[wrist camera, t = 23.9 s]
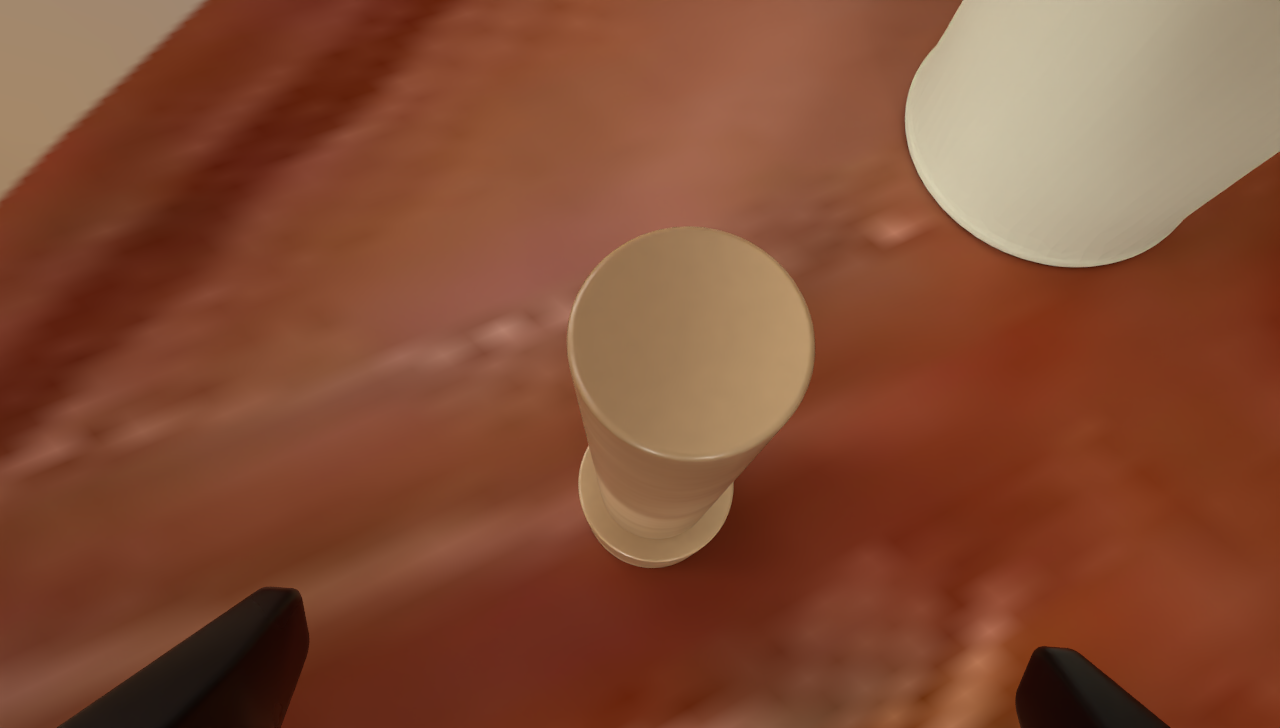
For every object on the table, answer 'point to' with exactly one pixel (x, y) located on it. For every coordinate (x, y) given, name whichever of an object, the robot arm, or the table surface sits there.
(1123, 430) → the table surface
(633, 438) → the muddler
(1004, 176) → the can
